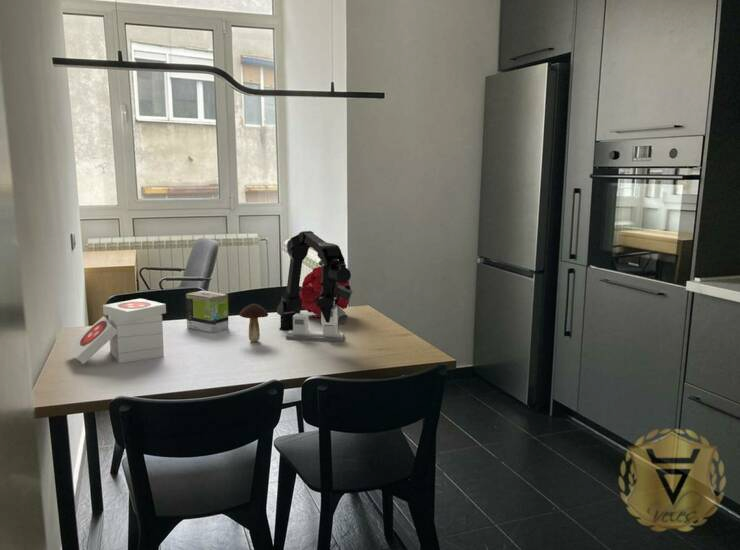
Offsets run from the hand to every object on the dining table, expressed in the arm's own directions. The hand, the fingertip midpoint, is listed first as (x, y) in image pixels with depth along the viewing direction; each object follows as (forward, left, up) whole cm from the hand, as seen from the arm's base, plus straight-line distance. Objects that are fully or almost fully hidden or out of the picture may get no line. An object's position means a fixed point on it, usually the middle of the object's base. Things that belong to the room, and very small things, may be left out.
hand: (329, 320), depth 221 cm
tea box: (-55, +20, -11) cm, 60 cm away
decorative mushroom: (-30, +4, -11) cm, 32 cm away
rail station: (-8, +14, -11) cm, 20 cm away
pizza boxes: (-70, -22, -11) cm, 74 cm away
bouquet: (-10, +48, -11) cm, 50 cm away
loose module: (0, 0, -1) cm, 1 cm away
